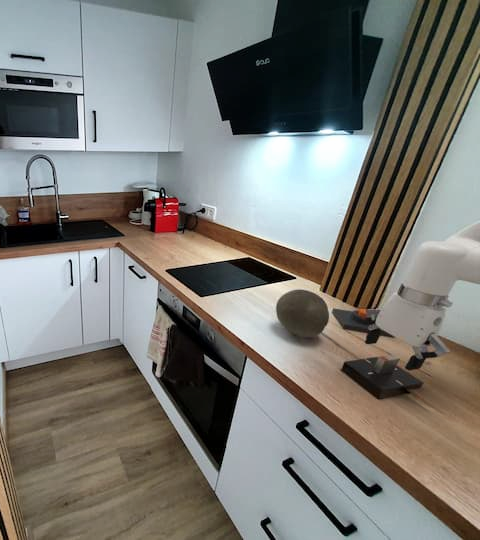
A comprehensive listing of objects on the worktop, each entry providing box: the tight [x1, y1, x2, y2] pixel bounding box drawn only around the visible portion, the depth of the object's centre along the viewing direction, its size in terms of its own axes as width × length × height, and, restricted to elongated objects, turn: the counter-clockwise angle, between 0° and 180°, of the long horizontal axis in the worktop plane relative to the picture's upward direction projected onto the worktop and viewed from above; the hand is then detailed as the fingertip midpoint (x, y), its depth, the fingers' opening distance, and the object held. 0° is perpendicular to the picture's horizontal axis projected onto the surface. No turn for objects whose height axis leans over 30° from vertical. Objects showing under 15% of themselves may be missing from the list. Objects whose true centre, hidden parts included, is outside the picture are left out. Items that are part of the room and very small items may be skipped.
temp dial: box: [372, 354, 401, 375], centre depth 73 cm, size 5×2×5 cm, turn 102°
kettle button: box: [358, 308, 367, 318], centre depth 95 cm, size 4×4×2 cm
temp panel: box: [340, 356, 425, 400], centre depth 74 cm, size 13×10×3 cm
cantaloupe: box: [275, 288, 330, 338], centre depth 90 cm, size 14×14×15 cm
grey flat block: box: [331, 307, 396, 339], centre depth 96 cm, size 14×11×5 cm
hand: (389, 355), depth 71 cm, fingers open, 9 cm apart
